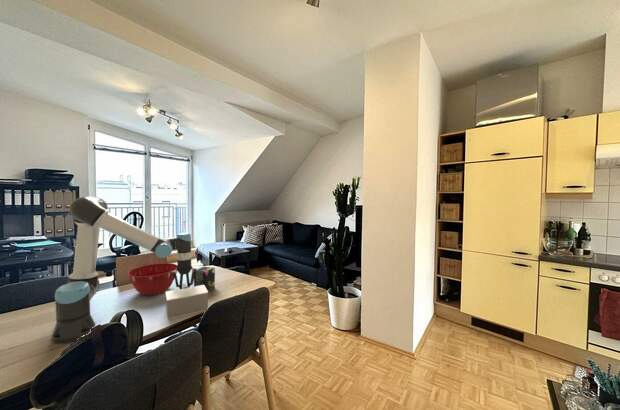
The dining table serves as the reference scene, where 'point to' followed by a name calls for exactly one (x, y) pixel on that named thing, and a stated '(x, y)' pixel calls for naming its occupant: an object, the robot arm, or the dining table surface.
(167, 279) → the mixing bowl
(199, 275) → the tampon box
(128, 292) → the dining table surface
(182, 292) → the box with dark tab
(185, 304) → the open cabinet
